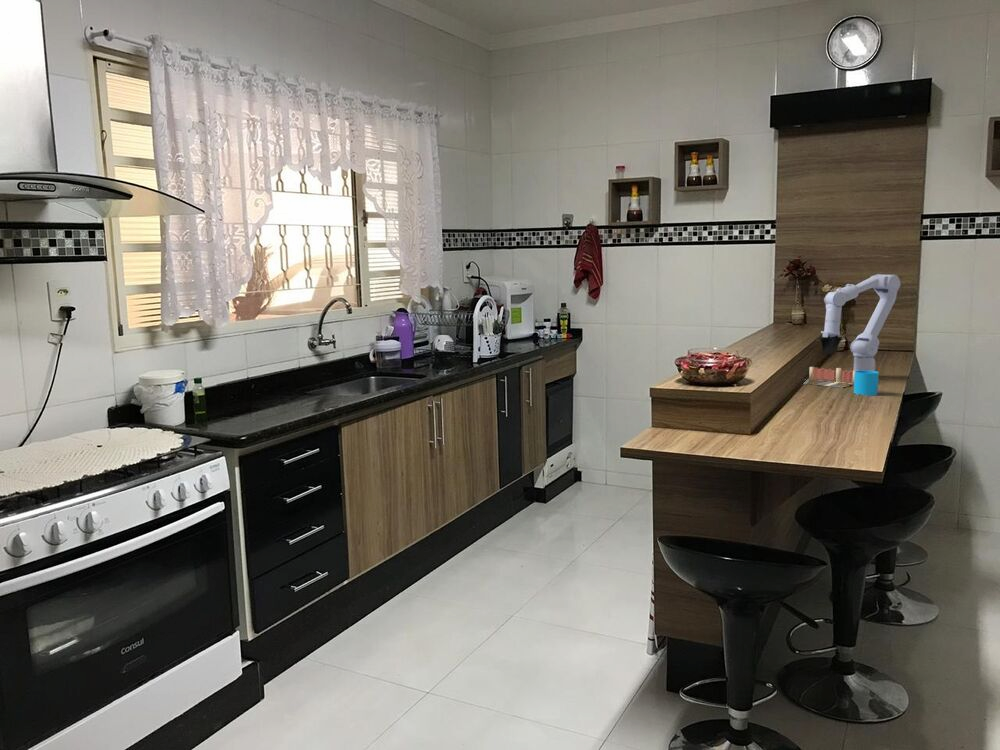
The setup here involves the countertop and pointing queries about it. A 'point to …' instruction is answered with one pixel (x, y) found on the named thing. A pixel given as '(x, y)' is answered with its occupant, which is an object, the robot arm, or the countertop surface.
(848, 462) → the countertop surface
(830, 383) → the board
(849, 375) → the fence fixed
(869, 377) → the mug
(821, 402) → the countertop surface
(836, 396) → the countertop surface
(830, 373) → the fence panel
